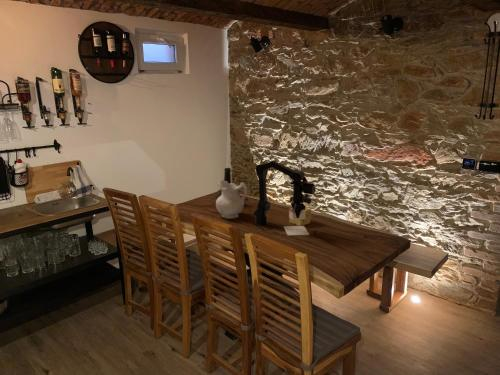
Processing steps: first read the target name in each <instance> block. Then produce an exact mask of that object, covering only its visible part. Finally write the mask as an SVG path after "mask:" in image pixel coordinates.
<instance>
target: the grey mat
mask: <svg viewBox="0 0 500 375" xmlns="http://www.w3.org/2000/svg"><path fill="white" fill-rule="evenodd" d="M283 229H284V230H285V234H287V237H289V236H293V237H294V236H296V237H297V236H310V233H309V232H308V230H307V228H306V227H305V225H303V226H298V225H295V226H294V225H293V226H290V225H289V226H283Z"/></svg>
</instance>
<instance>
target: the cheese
mask: <svg viewBox="0 0 500 375" xmlns="http://www.w3.org/2000/svg"><path fill="white" fill-rule="evenodd" d="M289 210H293V209H292V207H291V208H289ZM304 211H305V212H306V213H305V219H298V220H292V219H291V218H289V217H288V218H289V219H288V221H289V223H290V224H293V225H295V226H305V225H308V224H310V223H311V219H312V209H311V208H308V207H306V208H305V210H304Z"/></svg>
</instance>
